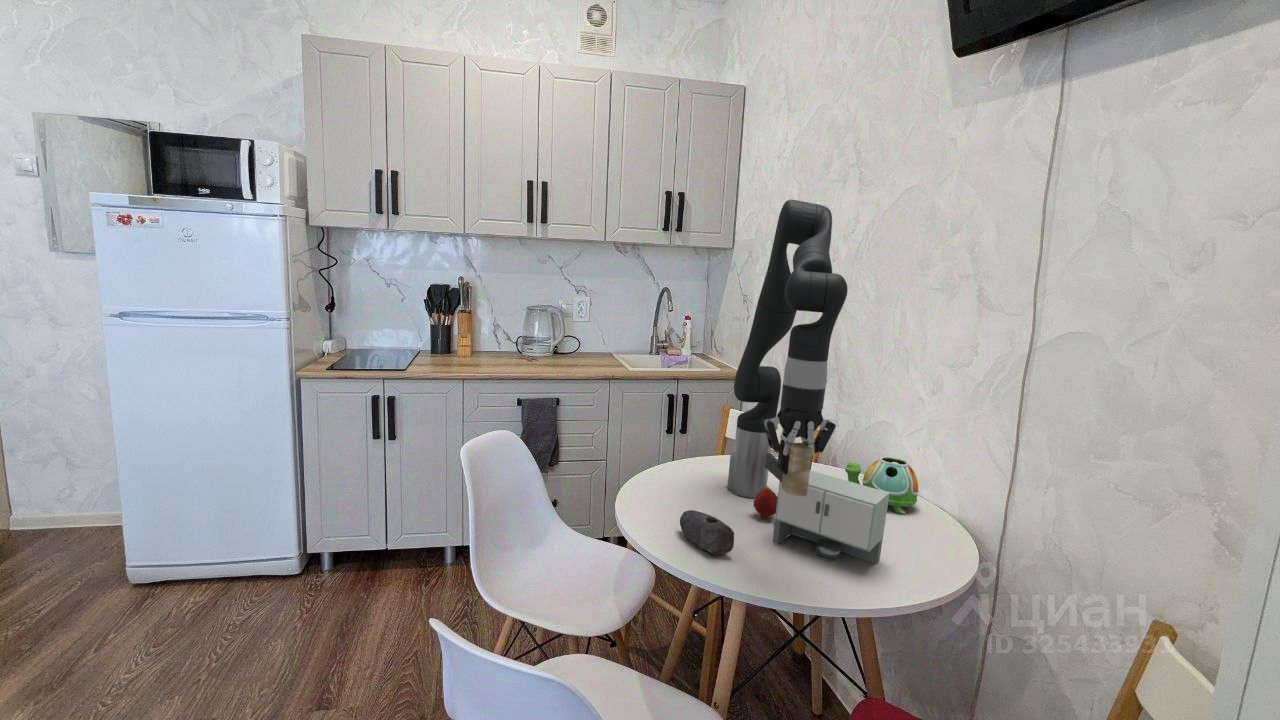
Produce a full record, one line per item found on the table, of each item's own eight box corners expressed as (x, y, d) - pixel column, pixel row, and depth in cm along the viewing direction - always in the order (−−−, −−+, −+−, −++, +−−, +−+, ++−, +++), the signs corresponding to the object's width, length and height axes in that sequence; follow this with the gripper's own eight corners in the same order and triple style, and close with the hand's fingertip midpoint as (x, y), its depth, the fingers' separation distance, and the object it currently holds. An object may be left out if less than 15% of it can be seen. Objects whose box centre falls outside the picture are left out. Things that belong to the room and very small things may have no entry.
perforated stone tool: (671, 532, 134) (673, 502, 133) (690, 528, 137) (693, 498, 136) (714, 564, 122) (718, 531, 120) (735, 558, 125) (738, 526, 123)
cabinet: (770, 543, 132) (778, 476, 130) (789, 529, 140) (797, 466, 137) (864, 578, 120) (874, 505, 118) (879, 561, 128) (889, 492, 125)
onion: (778, 516, 147) (782, 484, 145) (775, 525, 141) (779, 492, 140) (754, 511, 149) (757, 479, 147) (750, 520, 143) (753, 487, 142)
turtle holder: (845, 487, 169) (850, 445, 167) (916, 502, 162) (923, 459, 160) (838, 502, 158) (844, 457, 156) (914, 519, 151) (922, 473, 149)
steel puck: (811, 555, 129) (813, 544, 128) (821, 547, 132) (822, 536, 132) (834, 563, 126) (836, 552, 125) (843, 555, 129) (845, 544, 129)
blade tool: (788, 495, 113) (794, 448, 111) (758, 466, 127) (763, 424, 126) (806, 495, 113) (812, 448, 112) (774, 467, 128) (779, 425, 126)
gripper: (830, 379, 117) (819, 466, 120) (760, 377, 114) (750, 465, 117) (850, 388, 110) (838, 480, 113) (775, 386, 107) (764, 480, 110)
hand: (793, 472), depth 115 cm, fingers closed on blade tool, 3 cm apart
